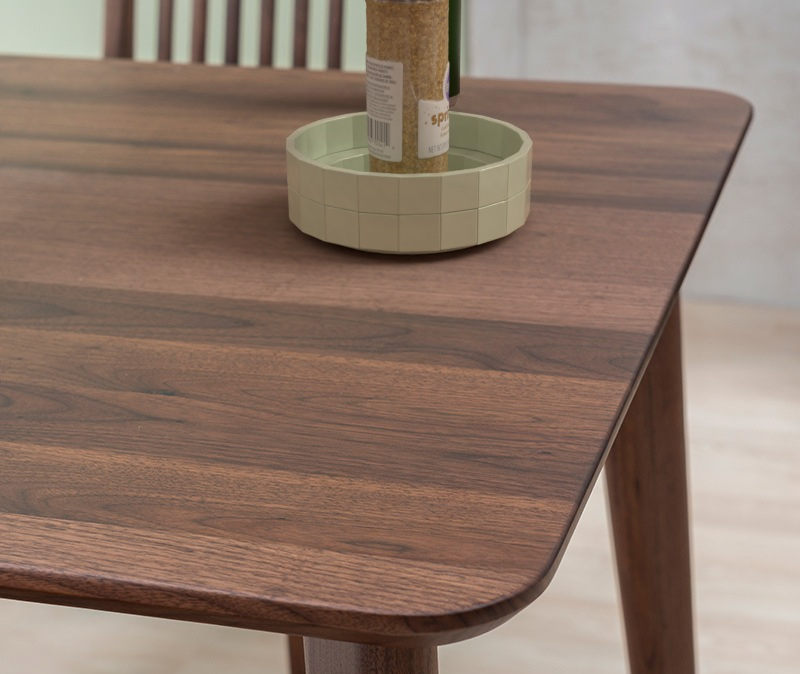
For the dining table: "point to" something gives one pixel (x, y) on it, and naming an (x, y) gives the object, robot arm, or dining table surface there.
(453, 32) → the green drink can
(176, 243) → the dining table surface
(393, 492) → the dining table surface
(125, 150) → the dining table surface
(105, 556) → the dining table surface
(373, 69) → the sprinkles bottle
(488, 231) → the dish
